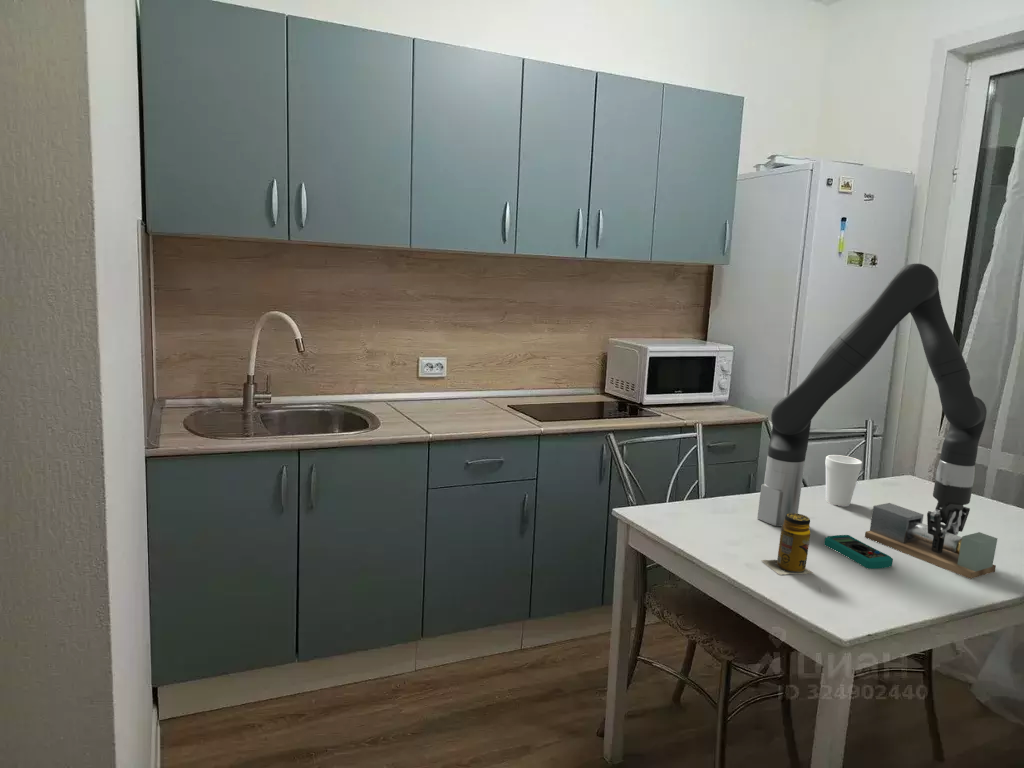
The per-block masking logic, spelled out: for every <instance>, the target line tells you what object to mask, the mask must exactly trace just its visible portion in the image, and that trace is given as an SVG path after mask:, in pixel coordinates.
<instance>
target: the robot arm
mask: <svg viewBox="0 0 1024 768" xmlns="http://www.w3.org/2000/svg"><path fill="white" fill-rule="evenodd" d="M940 296H941V295H940V289H939V279H938V276H937V274H936V272H935V271H934V270H933V269H932V268H931V267H929V266H928V265H926V264H923V263H909V264H907V265H905V266H903V267H902V268H900V269H898V271H896V272H895V273H894V275H893V276H892V277H891V279H890V280H889V282H888V283H887V285H886V286H885V288H884V289H883V290H882V292H881V293H880V294H879V295H878V296H877V298H876V299H875V300H874V302H873V303H872V304H871V305H869V307H868V308H867V309H866V310H865V311H864V312H862V314H860V315H859V316H858V317H857V318H856V319H854V321H853V322H852V323H850V325H849V326H848V327H847V328H846V329H845V330H843V331H842V332H841V333H840V335H839V336H838V337H837V338H836V339H835V340H834V341H833V342H832V343H831V345H830V344H829V347H827V349H826V350H825V352H823V354H822V355H821V356H820V358H819V359H818V360H817V361H816V363H815V364H814V366H812V367H813V368H811V370H810V371H809V374H807V376H806V377H805V379H803V381H802V382H800V384H798V386H797V387H796V388H794V390H792V391H791V392H789V394H787V396H784V397H782V398H781V399H779V401H777V403H775V405H774V407H773V408H772V410H771V424H772V427H771V434H770V439H769V444H768V449H767V458H766V465H765V473H764V482H763V483H762V484H761V486H760V494H759V502H758V510H757V518H756V519H758V520H761V522H764V523H767V524H770V525H772V526H774V527H782V526H783V525H784V520H785V516H786V514H788V513H797V514H799V508H800V500H801V494H802V493H801V491H802V487H803V478H804V472H805V463H806V462H805V461H806V456H807V452H808V451H807V450H808V446H809V437H810V433H811V432H810V431H811V424H812V419H813V418H814V417H815V415H816V414H817V413H818V412H819V410H820V409H821V408H822V407H823V406H824V405H825V403H826V402H827V401H828V400H829V399H830V398H831V397H833V396H834V394H836V393H837V392H838V391H840V390H841V389H842V388H843V387H844V386H845V385H847V384H848V383H849V382H850V381H851V380H852V379H853V378H854V377H856V375H858V374H859V373H860V372H861V371H862V370H863V369H864V368H865V367H866V366H867V365H868V364H869V362H870V361H871V360H872V359H873V358H874V357H875V356H876V355H877V354H878V352H879V350H881V348H882V347H883V345H884V344H885V342H886V341H887V340H888V337H889V336H890V335H891V333H892V332H893V331H894V329H895V328H896V327H897V326H898V325H899V323H900V322H901V321H903V320H904V318H906V316H908V315H909V314H910V315H911V317H912V319H913V321H914V323H915V326H916V328H917V331H918V333H919V337H920V341H921V343H922V346H923V347H922V348H923V350H924V354H925V359H926V360H927V364H928V366H929V369H930V372H931V374H932V376H933V379H934V382H935V383H936V386H937V389H938V395H939V399H940V403H941V407H942V408H941V409H942V411H943V413H944V416H945V419H946V420H947V421H948V423H949V426H948V432H947V435H946V436H945V438H944V439H943V442H942V446H941V452H940V457H939V461H938V465H937V467H936V468H937V469H936V473H935V479H934V480H935V481H934V485H933V490H932V491H933V492H932V496H933V498H934V499H936V500H937V503H936V506H935V510H934V511H929V510H928V512H927V514H926V517H927V518H926V519H927V520H926V521H927V524H926V525H928V534H931V535H933V542H932V548H931V549H932V551H934V552H937V553H942V551H943V545H944V540H945V539H944V537H945V535H946V532H948V533H951V534H954V535H957V536H959V532H963V530H964V528H965V525H966V521H967V519H968V516H969V514H970V511H971V508H970V507H967V505H969V504H970V502H971V497H972V491H973V488H974V487H973V486H974V481H975V473H976V471H975V470H976V469H975V467H976V463H977V462H976V460H977V457H978V451H979V450H978V449H979V443H980V439H981V437H982V433H983V430H984V427H985V423H986V419H987V406H986V403H984V401H983V400H982V399H981V398H979V397H977V396H975V395H974V393H973V390H972V387H971V383H970V381H971V375H970V371H969V368H968V366H967V364H966V361H965V359H964V356H963V354H962V351H961V348H960V347H959V345H958V343H957V341H956V338H955V335H954V334H953V332H952V330H951V328H950V325H949V323H948V321H947V318H946V314H945V313H944V312H945V311H944V309H943V305H942V301H941V297H940ZM933 527H934V528H933ZM941 530H942V532H941Z"/></svg>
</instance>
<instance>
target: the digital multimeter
mask: <svg viewBox="0 0 1024 768" xmlns="http://www.w3.org/2000/svg"><path fill="white" fill-rule="evenodd" d="M825 545H826V546H825ZM823 546H825V547H827V546H828V547H827V548H829V547H830V548H829V549H831V548H832V549H831V550H833V549H834V550H836V551H838V552H840V553H841V554H840V553H839V554H840V555H842V554H843V555H842V556H844V555H845V556H844V557H846V556H847V557H846V558H848V557H849V558H850V559H849V558H848V559H849V560H851V559H852V560H851V561H853V560H854V561H853V562H855V563H856V562H857V563H856V564H858V563H859V565H860V564H861V565H860V566H862V567H863V566H864V567H863V568H865V569H867V568H868V569H869V570H870V569H871V570H878V569H887V568H890V567H893V560H894V558H893V557H892V556H891V555H890V554H889V555H888V554H887V553H885V552H882V551H880V550H878V549H876V548H875V547H872V546H870V545H868V544H866V543H864V542H863V541H861V540H859V539H858V538H855V537H853V536H851V535H850V534H836V535H829V536H826V537H824V543H823ZM834 550H833V551H834ZM836 551H835V552H836ZM838 552H837V553H838Z"/></svg>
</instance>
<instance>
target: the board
mask: <svg viewBox="0 0 1024 768" xmlns="http://www.w3.org/2000/svg"><path fill="white" fill-rule="evenodd" d="M864 533H865V534H864V538H865V537H866V538H865V539H868V538H869V540H870V539H871V540H870V541H873V540H874V541H873V542H875V541H877V542H876V543H878V542H879V543H878V544H880V543H882V544H881V545H883V544H884V545H883V546H886V547H888V546H889V547H888V548H891V547H892V548H891V549H893V548H894V549H893V550H896V549H897V550H896V551H898V550H899V551H898V552H901V551H902V552H901V553H903V552H904V554H906V555H908V554H909V556H911V557H914V558H916V559H919V560H921V561H923V562H925V563H929V564H932V565H934V566H935V567H939V568H942V569H944V570H947V571H949V572H951V573H954V574H957V575H959V576H962V577H964V578H967V579H969V578H970V580H972V578H973V579H975V578H980V577H982V576H985V575H988V574H992V573H995V572H996V564H993V566H992V567H989V568H986V569H983V570H979V571H976V572H975V571H973V570H970V569H967V568H965V567H962V566H960V565H957V564H958V558H959V554H956V553H953V552H951V551H948V550H945V549H943V551H942V553H937V552H934V551H932V549H931V548H932V544H929V543H927V542H924V541H921V540H917V541H913V542H909V543H904V544H903V543H900V542H898V541H895V540H893V539H890V538H887V537H885V536H882V535H879V534H877V533H874V532H872V531H870V530H868V531H865V532H864Z"/></svg>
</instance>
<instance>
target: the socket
mask: <svg viewBox="0 0 1024 768" xmlns="http://www.w3.org/2000/svg"><path fill="white" fill-rule="evenodd" d="M961 537H962V541H961V547H960V552H959V558H958V564H957V565H960V566H962V567H965V568H967V569H970V570H973V571H975V572H976V571H979V570H983V569H986V568H989V567H992V566H993V565H994V560H995V556H996V549H997V545H998V544H997V543H998V538H997V537H994V536H991V535H989V534H987V533H983V532H980V531H978V532H974V533H970V534H966V535H963V536H961Z"/></svg>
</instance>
